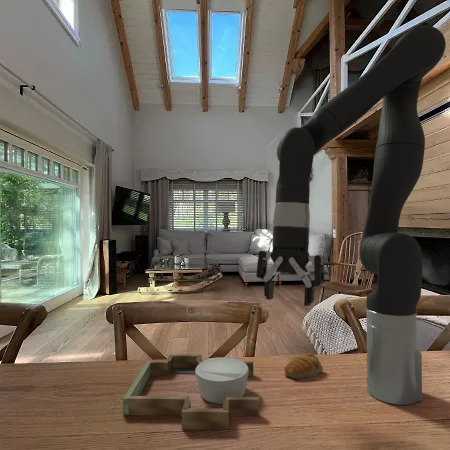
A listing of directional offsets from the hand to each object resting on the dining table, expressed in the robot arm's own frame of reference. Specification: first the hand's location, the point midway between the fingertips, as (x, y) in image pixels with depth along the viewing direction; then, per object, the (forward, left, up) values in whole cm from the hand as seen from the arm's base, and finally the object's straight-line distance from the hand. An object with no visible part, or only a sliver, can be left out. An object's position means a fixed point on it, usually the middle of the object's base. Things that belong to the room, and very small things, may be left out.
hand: (287, 302), depth 68 cm
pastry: (-5, -9, -19) cm, 22 cm away
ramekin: (+14, +1, -19) cm, 24 cm away
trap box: (+19, +1, -19) cm, 27 cm away
